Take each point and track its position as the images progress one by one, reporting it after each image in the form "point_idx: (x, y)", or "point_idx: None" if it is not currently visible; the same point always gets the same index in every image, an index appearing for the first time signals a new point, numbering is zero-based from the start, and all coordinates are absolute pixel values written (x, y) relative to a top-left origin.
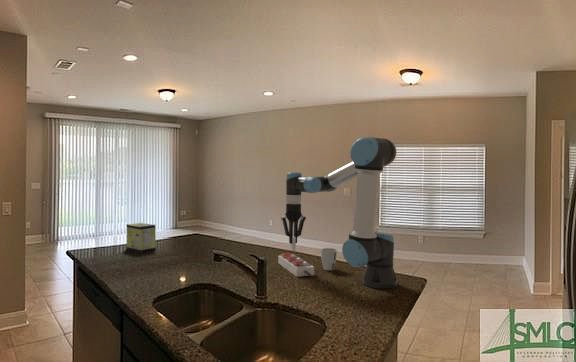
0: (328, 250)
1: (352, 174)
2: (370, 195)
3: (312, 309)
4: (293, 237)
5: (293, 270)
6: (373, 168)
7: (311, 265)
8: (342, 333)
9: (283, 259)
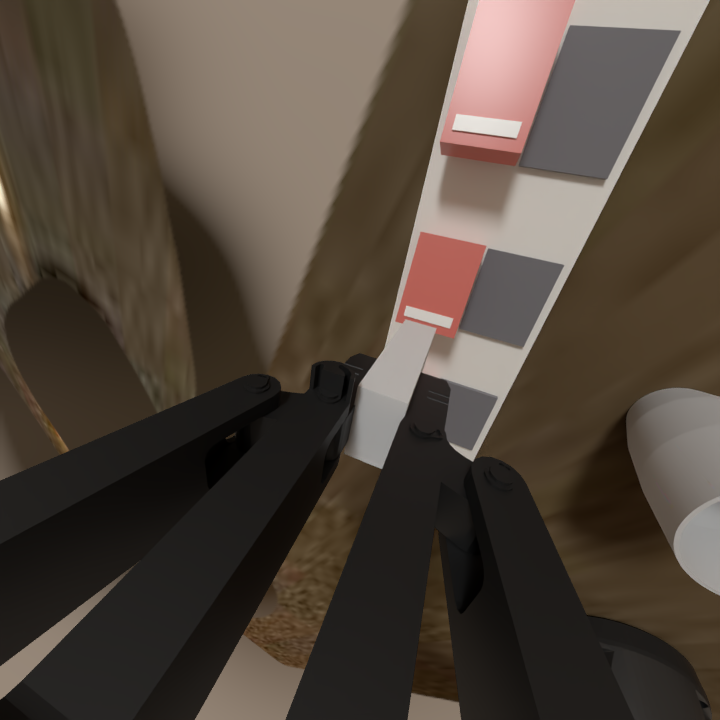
0: None
1: None
2: None
3: (278, 575)
4: (356, 456)
5: None
6: None
7: (478, 445)
8: (278, 630)
9: (426, 176)
